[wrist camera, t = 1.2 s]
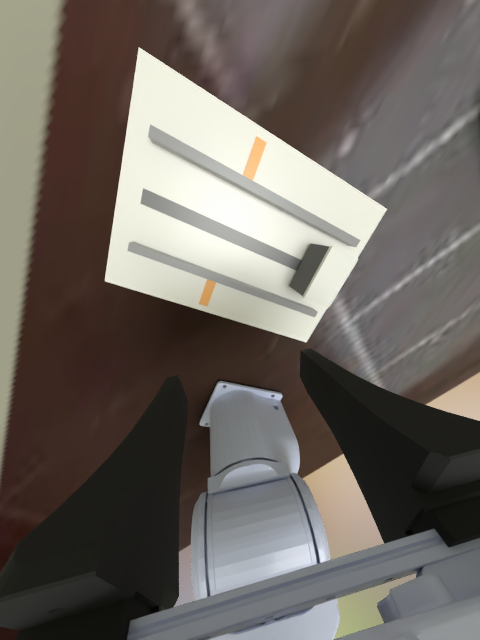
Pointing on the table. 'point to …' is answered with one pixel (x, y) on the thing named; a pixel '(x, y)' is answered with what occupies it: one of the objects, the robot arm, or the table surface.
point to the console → (223, 208)
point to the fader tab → (322, 273)
